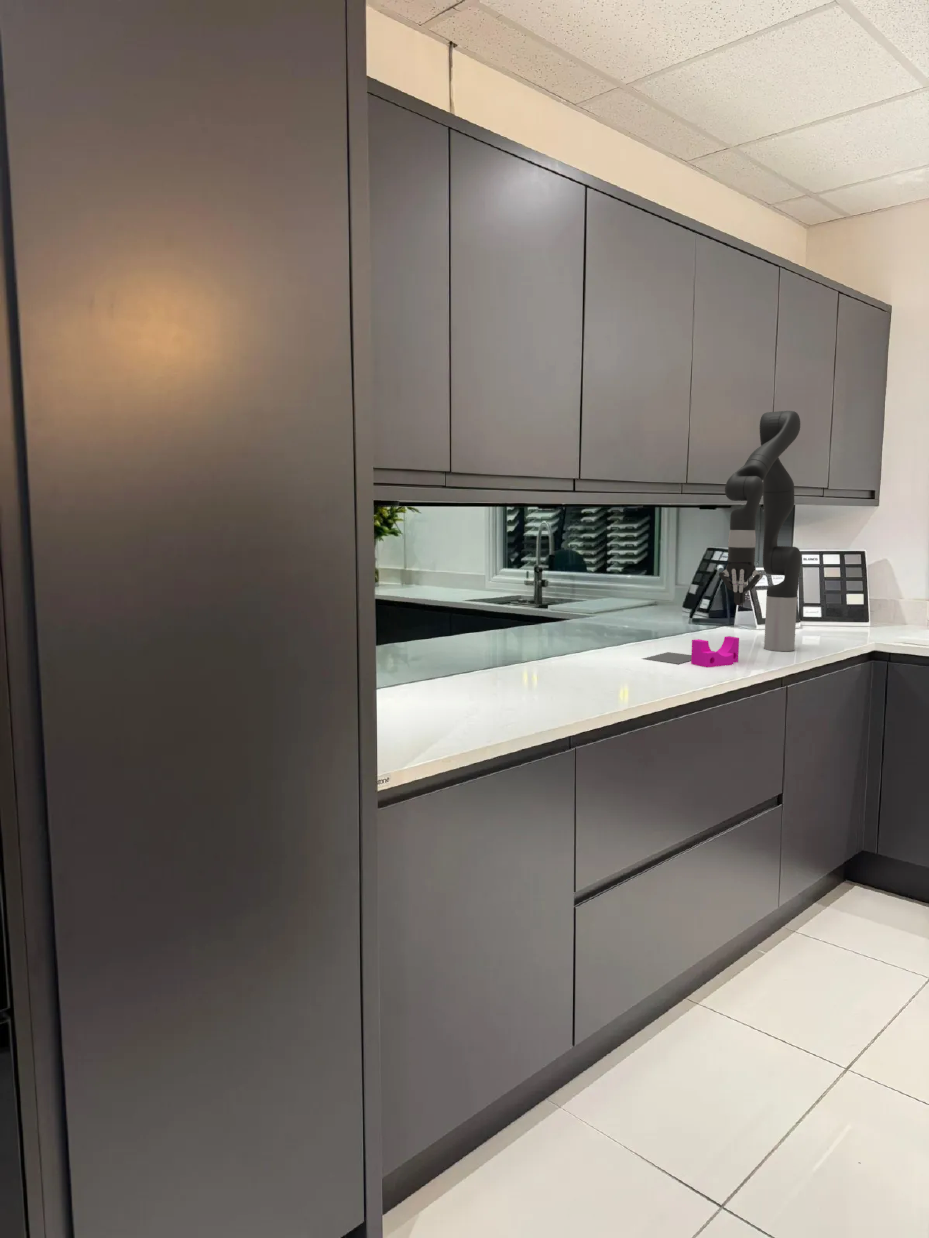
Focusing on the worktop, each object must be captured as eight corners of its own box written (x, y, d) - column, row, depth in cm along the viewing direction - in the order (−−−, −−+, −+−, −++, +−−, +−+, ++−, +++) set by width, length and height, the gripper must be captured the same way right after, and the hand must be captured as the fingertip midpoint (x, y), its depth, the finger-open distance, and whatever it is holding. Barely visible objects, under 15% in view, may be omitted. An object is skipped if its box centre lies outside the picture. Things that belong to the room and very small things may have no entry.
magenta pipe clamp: (706, 668, 247) (707, 642, 246) (691, 665, 252) (692, 639, 251) (744, 664, 254) (745, 638, 253) (728, 660, 259) (729, 636, 258)
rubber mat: (667, 654, 270) (667, 652, 270) (703, 658, 262) (703, 656, 262) (641, 660, 258) (641, 658, 258) (678, 665, 250) (678, 663, 250)
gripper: (769, 546, 250) (766, 605, 253) (725, 544, 259) (723, 602, 261) (758, 547, 245) (755, 607, 247) (714, 545, 253) (712, 604, 256)
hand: (739, 604), depth 254 cm, fingers closed
